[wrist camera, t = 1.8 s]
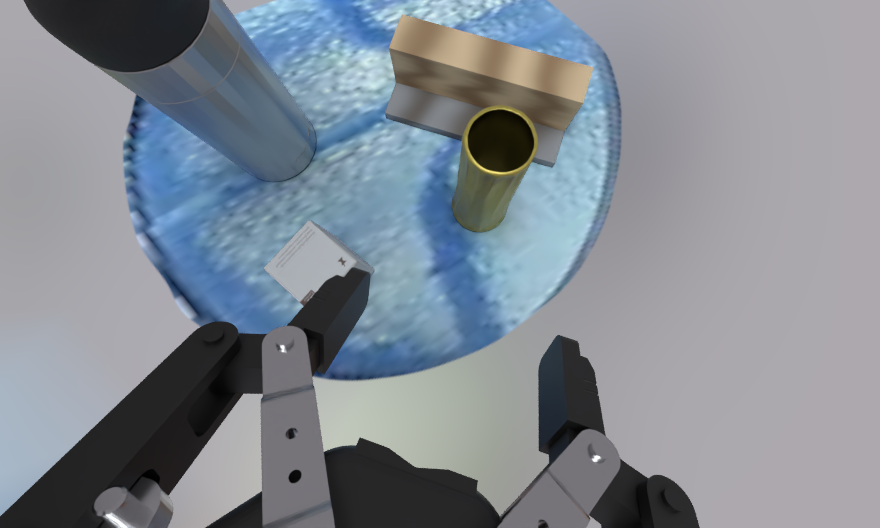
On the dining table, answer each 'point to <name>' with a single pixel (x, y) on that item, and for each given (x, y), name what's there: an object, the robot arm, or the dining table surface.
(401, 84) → the ridge
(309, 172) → the dining table surface
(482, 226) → the vase
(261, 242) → the dining table surface
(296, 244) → the skincare box
